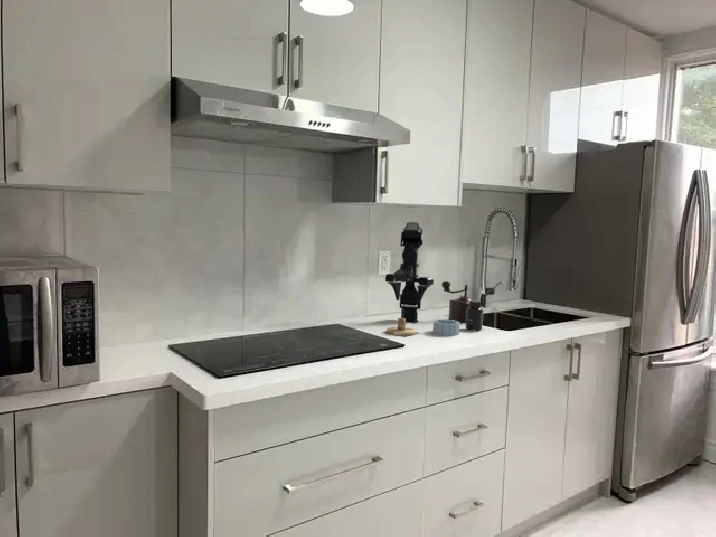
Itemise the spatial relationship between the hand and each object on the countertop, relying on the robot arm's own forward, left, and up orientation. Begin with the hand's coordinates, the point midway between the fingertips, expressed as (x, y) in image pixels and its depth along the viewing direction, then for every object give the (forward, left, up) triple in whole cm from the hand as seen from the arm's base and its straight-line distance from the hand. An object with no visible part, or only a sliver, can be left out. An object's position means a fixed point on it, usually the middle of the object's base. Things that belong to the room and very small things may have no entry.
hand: (408, 301), depth 213 cm
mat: (-1, -2, -13) cm, 13 cm away
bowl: (+11, +12, -13) cm, 20 cm away
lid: (-1, -2, -12) cm, 12 cm away
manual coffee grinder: (0, +43, -13) cm, 45 cm away
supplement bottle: (+14, +30, -13) cm, 35 cm away
